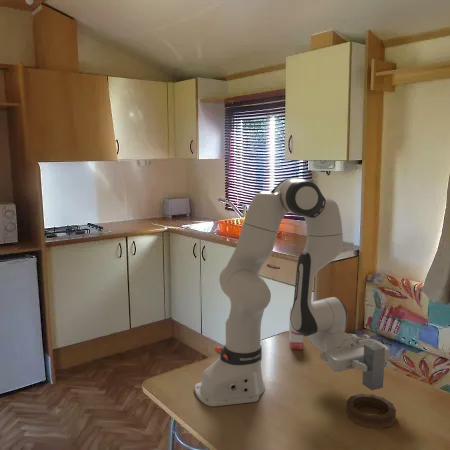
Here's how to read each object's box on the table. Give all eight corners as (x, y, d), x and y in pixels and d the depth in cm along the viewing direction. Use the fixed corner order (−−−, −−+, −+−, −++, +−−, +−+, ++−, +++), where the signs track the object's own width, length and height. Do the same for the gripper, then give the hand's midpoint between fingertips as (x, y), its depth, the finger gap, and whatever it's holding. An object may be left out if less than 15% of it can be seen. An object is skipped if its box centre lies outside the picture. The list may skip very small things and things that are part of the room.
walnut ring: (367, 433, 128) (368, 422, 128) (337, 408, 140) (337, 399, 140) (404, 421, 134) (405, 412, 133) (372, 399, 145) (373, 390, 145)
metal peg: (371, 390, 133) (373, 350, 131) (362, 384, 136) (364, 344, 135) (382, 387, 134) (385, 347, 132) (373, 381, 138) (375, 342, 136)
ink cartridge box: (303, 349, 181) (304, 313, 179) (290, 349, 182) (291, 312, 179) (301, 340, 190) (302, 305, 188) (288, 340, 190) (289, 305, 188)
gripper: (316, 344, 142) (346, 363, 129) (371, 333, 150) (403, 350, 137) (316, 364, 143) (345, 385, 130) (370, 352, 151) (402, 370, 138)
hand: (375, 367), depth 134 cm, fingers closed on metal peg, 4 cm apart
